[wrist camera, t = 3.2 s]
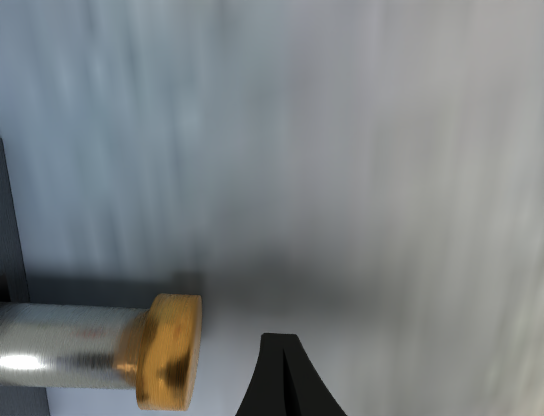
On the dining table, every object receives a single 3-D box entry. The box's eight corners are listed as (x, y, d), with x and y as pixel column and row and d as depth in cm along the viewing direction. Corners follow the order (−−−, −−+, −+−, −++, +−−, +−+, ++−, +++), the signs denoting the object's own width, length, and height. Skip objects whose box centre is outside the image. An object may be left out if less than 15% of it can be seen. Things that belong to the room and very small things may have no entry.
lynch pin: (203, 276, 14) (183, 345, 10) (201, 352, 15) (183, 438, 11) (-121, 258, 13) (-276, 327, 9) (-93, 340, 14) (-218, 431, 11)
